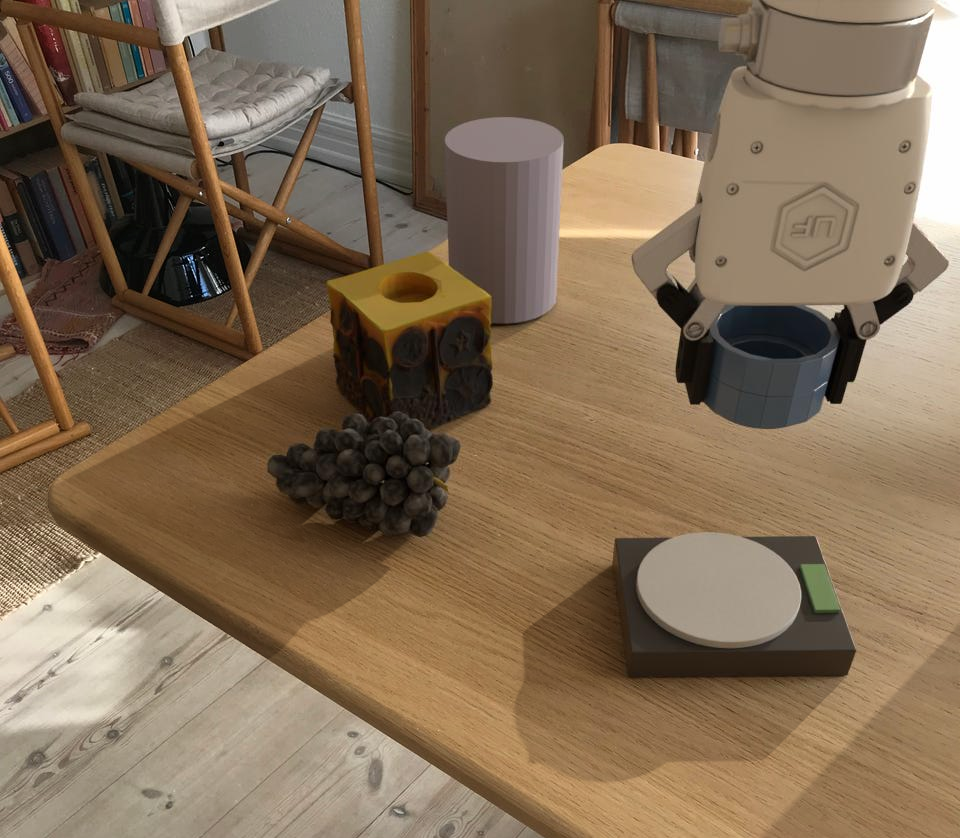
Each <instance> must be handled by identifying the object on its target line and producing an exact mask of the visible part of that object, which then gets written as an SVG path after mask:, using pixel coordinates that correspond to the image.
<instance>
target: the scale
mask: <svg viewBox="0 0 960 838" xmlns="http://www.w3.org/2000/svg"><path fill="white" fill-rule="evenodd" d="M611 563H612V564H611V565H612V571H613V579H614V585H615V586H614V587H615V594H616V601H617V607H618V608H617V609H618V614H619V615H618V616H619V622H620V629H621V636H622V641H623V642H622V643H623V650H624V656H625V665H626V672H627V678H629V677H636V678H685V677H684V676H688V677H687V678H718V677H719V678H726V677H727V678H730V677H737V678H738V677H821V676H822V677H823V676H824V677H829V676H830V677H832V676H834V677H836V676H838V677H840V676H843V677H844V676H848V675H849V672H850V670H851V667H852V664H853V661H854V658H855V656H856V654H857V647H856V644H855V641H854V638H853V636H852V633H851V630H850V627H849V624H848V621H847V619H846V616H845V613H844V610H843V607H842V605H841V602H840V599H839V596H838V593H837V591H836V588H835V584H834V582H833V580H832V576H831V573H830V571H829V568H828V565H827V563H826V560H825V556H824V554H823V551H822V549H821V545H820V542H819V541H818V537H817V536H816V535H787V536H785V535H784V536H783V535H781V536H779V535H778V536H777V535H776V536H739V535H735V534H730V533H723V532H716V531H715V532H713V531H712V532H710V531H704V532H703V531H702V532H692V533H691V532H690V533H685V534H681V535H677V536H673V537H615V538H614V544H613V554H612V562H611ZM650 676H651V677H650ZM659 676H660V677H659ZM668 676H669V677H668ZM676 676H678V677H676ZM692 676H694V677H692Z"/></svg>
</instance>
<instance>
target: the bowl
mask: <svg viewBox="0 0 960 838" xmlns="http://www.w3.org/2000/svg"><path fill="white" fill-rule="evenodd" d="M710 332H711V336H712V339H713V352H712V358H711V364H710V370H709V375H708V381H707V387H706V393H705V398H704V402H703V404H704V405H705V406H707V408H709V410H711V412H713V413H714V414H716V415H718V416H720V417H721V418H723V419H724V420H727V421H728V422H731V423H733V424H735V425H738V426H742V427H746V428H751V429H757V430H759V429H760V430H778V429H783V428H788V427H792V426H795V425H796V426H797V425H799V424H800V425H801V424H804V423H807V422H808V421H809V420H811V419H812V418H814V417H815V416H816V415H818V414H819V413H820V411H821V409H822V406H823V403H824V400H825V398H826V397H825V394H826V390H827V386H828V382H829V379H830V375H831V371H832V368H833V364H834V360H835V356H836V353H837V349H838V345H839V342H840V338H841V336H840V333H839V331H838V329H837V327H836V325H835V323H834V322H833V321H831V318H829V317H828V316H827V315H825V314H824V313H822V312H821V311H819V310H817V309H814V308H812V307H809V306H808V305H805V306H743V305H726V307H725V308H724V309H723V311H722V312H721V313H720V315H719V316H718V317H717V319H716V320H715V321H714V323H713V324H712V325H711V327H710Z"/></svg>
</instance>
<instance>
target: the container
mask: <svg viewBox="0 0 960 838" xmlns="http://www.w3.org/2000/svg"><path fill="white" fill-rule="evenodd" d="M564 140H565V138H564V135H563V133H562V132H561V131H560V130H559V129H558V128H556V127H554V126H553V125H551V124H548V123H545V122H543V121H539V120H536V119H530V118H524V117H515V116H498V117H497V116H496V117H485V118H479V119H474V120H470V121H468V122H464V123H461V124H459V125H457V126H454V127H453V128H452V129H450V130H449V131H448V132H447V133H446V135H445V137H444V159H445V162H444V163H445V189H446V190H445V191H446V223H447V252H448V253H447V257H448V265H449V266H450V267H451V268H452V269H454V270H455V271H457V272H458V273H459V274H461V275H462V276H464V277H465V278H466V279H468V280H470V281H471V282H473V283H474V284H475V285H476V286H478V287H479V288H481V289H482V290H484V291H486V292H487V293H488V294H489V295H490V296H491V325H502V326H503V325H504V326H508V325H517V324H518V325H519V324H525V323H528V322H531V321H533V320H534V321H535V320H537V319H538V318H540V317H542V316H544V315H546V313H547V314H548V312H550V310H551V309H553V307H554V306H555V304H556V302H557V293H558V291H557V290H558V271H559V269H558V268H559V249H560V229H561V227H560V225H561V206H562V205H561V204H562V186H563V185H562V184H563V183H562V182H563V161H564V144H565V141H564Z"/></svg>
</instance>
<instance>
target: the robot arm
mask: <svg viewBox="0 0 960 838" xmlns="http://www.w3.org/2000/svg"><path fill="white" fill-rule="evenodd" d="M937 2H938V0H752V1H751V6H748V8H747V11H746V13H739V14H738V16H737V17H722V18H721V20H720V23H719V28H718V29H719V30H718V38H717V47H718V51H719V52H720V53H721V52H722V53H723V52H727V53H728V52H729V53H730V52H731V53H732V52H734V55H735V56H742V58H743V60H744V62H745V65H743V66H738V67H736V68H735V69H733V70H732V72H731V74H730V77H729V80H728V82H727V84H726V87H725V91H724V93H723V95H722V99H721V102H720V105H719V107H718V111H717V114H716V118H715V121H714V123H713V128H712V131H711V134H710V138H709V142H708V147H707V151H706V154H705V158H704V163H703V167H702V171H701V175H700V179H699V184H698V187H697V192H696V197H695V202H694V206H693V207H691V208H690V209H689V210H687V211H686V212H684V213H683V214H682V215H681V216H679V217H678V218H677V219H675V220H673V222H671V223H670V224H669V225H667V226H666V227H664V228H663V229H662V230H660V231H659V232H658V233H656V234H655V235H653V236H652V237H651V238H650V239H648V240H647V241H645V242H644V243H642V244H641V245H640V246H639V247H637V248H636V249H635V250H634V251H633V252H632V254H631V262H632V263H631V264H632V268H633V271H634V273H635V275H636V276H637V277H638V279H639V280H640V282H641V283H642V285H644V286H645V288H646V289H647V291H648V292H649V294H651V295H652V296H653V298H654V299H655V300H656V302H657V304H658V306H659V308H661V309H662V311H664V313H665V314H666V315H667V316H668V318H670V319H671V321H673V322H674V323H675V324H676V325H677V326H678V327H679V328H680V333H679V340H678V347H677V352H676V353H677V354H676V360H675V379H676V383H677V384H684V387H685V390H686V394H687V397H688V401H689V405H690V406H691V405H692V406H695V405H701V403H704V398H705V393H706V387H707V381H708V375H709V370H710V364H711V358H712V352H713V339H712V336H711V332H710V327H711V325H712V324H713V323H714V321H715V320H716V319H717V317H718V316H719V315H720V313H721V312H722V311H723V309H724V308H725V307H726V305H743V306H842V307H843V308H842V309H841V310H840V312H839V311H838V312H837V311H836V312H834V315H833V317H831V318H830V320H831V321H833V322H834V323H835V325H836V327H837V329H838V331H839V333H840V336H841V338H840V342H839V345H838V349H837V353H836V356H835V360H834V364H833V368H832V371H831V375H830V379H829V382H828V386H827V390H826V394H825V397H824V398H825V400H826V402H828V403H830V405H841V404H842V403H843V400H844V397H845V393H846V390H847V386H848V383H854V382H855V380H856V378H857V375H858V372H859V369H860V364H861V361H862V358H863V354H864V350H865V347H866V344H867V340H871V339H873V338H875V337H876V336H877V335H878V334H879V331H880V329H881V325H883V324H884V323H885V322H887V321H888V320H890V318H892V317H894V316H895V315H897V314H898V313H899V312H901V311H902V310H903V309H904V308H906V307H907V306H909V305H910V304H911V303H912V302H913V299H914V296H915V295H916V294H918V293H920V292H922V291H923V290H924V289H925V288H927V287H928V286H929V285H930V284H931V283H932V282H934V281H935V280H936V279H937V278H939V277H940V276H941V275H942V274H944V272H946V271H947V269H948V268H949V266H950V265H949V264H950V263H949V262H950V261H949V259H948V257H947V256H946V254H944V253H945V252H943V250H942V249H941V247H940V246H938V244H937V243H936V242H935V241H934V240H933V239H932V238H931V237H930V235H928V234H927V233H926V231H924V230H923V228H922V227H921V226H920V225H919V224H918V222H916V221H915V215H916V209H917V204H918V200H919V195H920V190H921V183H922V178H923V172H924V165H925V159H926V152H927V145H928V139H929V133H930V132H929V131H930V121H931V112H932V99H933V97H932V96H933V88H932V86H931V85H930V83H928V82H927V81H925V80H924V79H923V78H922V77H921V76H920V75H918V72H919V68H920V65H921V61H922V57H923V54H924V50H925V46H926V42H927V39H928V35H929V32H930V27H931V25H932V21H933V17H934V13H935V9H936V5H937ZM687 252H688V254H689V258H690V260H691V261H692V262H693V264H694V279H693V280H692V281H691V283H690V284H689V285H688V287H687V288H685V287H684V286H683V284H681V283H680V282H679V280H678V279H676V277H675V276H673V274H671V272H670V271H669V270H668V267H669V266H670V265H671V264H672V263H674V261H676V260H677V259H679V258H680V257H682V256H683V255H684V254H686V253H687ZM906 256H907V259H906V261H905V258H906ZM904 261H905V262H904Z"/></svg>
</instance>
